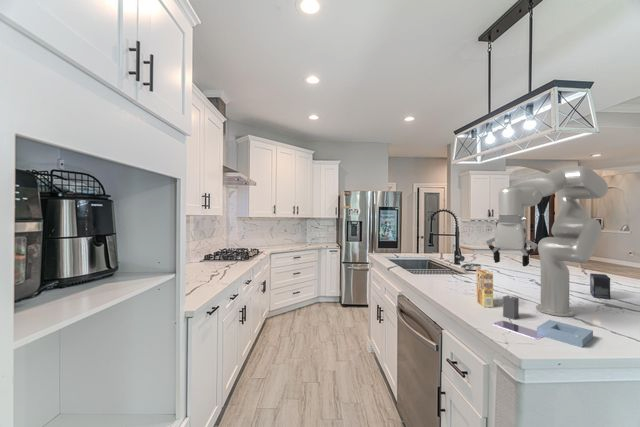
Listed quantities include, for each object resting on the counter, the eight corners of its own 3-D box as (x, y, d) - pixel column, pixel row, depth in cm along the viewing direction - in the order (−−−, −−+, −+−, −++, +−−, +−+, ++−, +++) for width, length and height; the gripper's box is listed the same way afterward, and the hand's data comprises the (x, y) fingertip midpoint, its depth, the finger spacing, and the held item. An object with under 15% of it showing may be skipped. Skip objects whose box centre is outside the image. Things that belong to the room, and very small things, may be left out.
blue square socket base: (549, 326, 108) (549, 319, 108) (592, 337, 98) (593, 329, 98) (536, 334, 101) (536, 326, 101) (582, 347, 91) (582, 338, 91)
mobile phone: (536, 338, 96) (490, 323, 109) (536, 341, 96) (490, 325, 109) (547, 333, 100) (501, 319, 113) (547, 336, 100) (501, 321, 113)
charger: (507, 314, 120) (507, 294, 120) (518, 317, 117) (518, 297, 117) (503, 316, 118) (503, 296, 118) (514, 319, 115) (514, 298, 115)
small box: (589, 292, 153) (589, 272, 153) (606, 294, 149) (606, 274, 149) (592, 297, 144) (592, 276, 144) (611, 299, 140) (611, 278, 140)
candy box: (493, 307, 129) (493, 273, 129) (483, 307, 129) (483, 272, 129) (485, 301, 138) (485, 269, 137) (475, 301, 138) (476, 269, 138)
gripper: (540, 219, 108) (541, 266, 108) (490, 219, 122) (491, 260, 122) (533, 220, 103) (533, 268, 104) (482, 219, 117) (482, 262, 117)
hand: (510, 264), depth 113 cm, fingers open, 9 cm apart
